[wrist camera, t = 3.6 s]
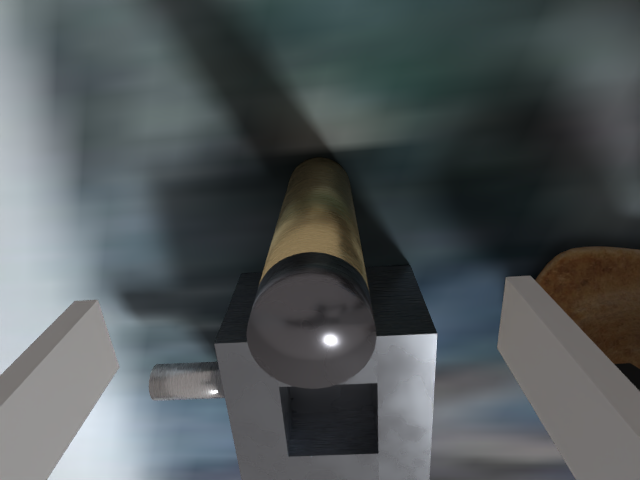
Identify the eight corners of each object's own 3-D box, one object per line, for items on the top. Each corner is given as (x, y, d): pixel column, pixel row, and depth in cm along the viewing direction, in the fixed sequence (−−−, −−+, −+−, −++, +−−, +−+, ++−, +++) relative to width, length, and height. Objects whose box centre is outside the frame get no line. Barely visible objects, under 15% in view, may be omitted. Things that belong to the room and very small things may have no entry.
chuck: (158, 278, 31) (106, 348, 23) (410, 264, 30) (437, 333, 23) (190, 404, 35) (154, 495, 28) (407, 395, 35) (428, 487, 27)
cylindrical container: (286, 159, 27) (237, 285, 12) (348, 155, 27) (375, 278, 12) (291, 218, 29) (255, 390, 14) (351, 214, 28) (377, 386, 14)
